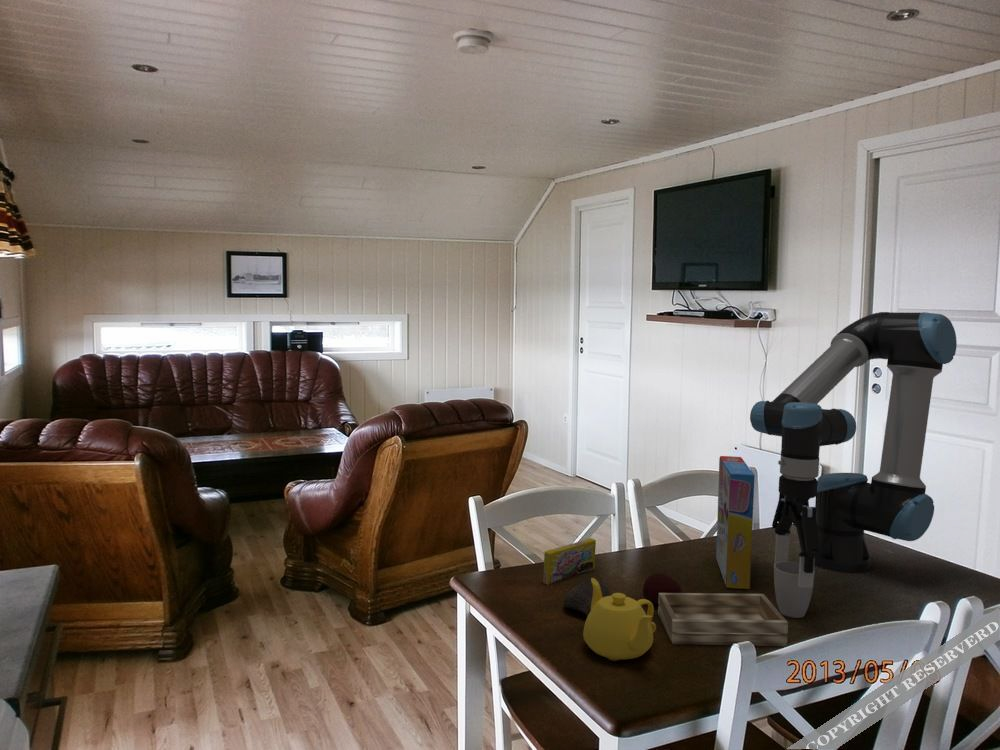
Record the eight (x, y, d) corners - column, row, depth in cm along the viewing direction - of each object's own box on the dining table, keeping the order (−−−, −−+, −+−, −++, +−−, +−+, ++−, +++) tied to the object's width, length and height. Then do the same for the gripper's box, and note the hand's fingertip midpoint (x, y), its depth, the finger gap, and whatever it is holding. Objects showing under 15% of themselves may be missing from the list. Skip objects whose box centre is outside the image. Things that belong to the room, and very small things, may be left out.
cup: (805, 606, 163) (808, 561, 162) (817, 622, 155) (820, 575, 154) (767, 604, 164) (769, 560, 163) (777, 620, 156) (779, 574, 155)
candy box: (548, 588, 173) (549, 553, 172) (542, 585, 174) (542, 551, 174) (595, 571, 183) (596, 539, 182) (589, 569, 185) (589, 537, 184)
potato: (680, 613, 159) (681, 582, 158) (640, 608, 162) (641, 577, 161) (683, 600, 166) (684, 570, 165) (644, 595, 169) (645, 565, 168)
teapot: (687, 668, 135) (689, 607, 134) (617, 685, 129) (619, 621, 128) (625, 624, 154) (626, 570, 152) (561, 637, 147) (562, 581, 146)
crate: (762, 616, 158) (763, 593, 157) (786, 647, 144) (788, 622, 143) (658, 615, 158) (658, 592, 157) (672, 646, 144) (673, 621, 143)
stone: (563, 633, 156) (591, 612, 150) (551, 594, 161) (578, 573, 155) (598, 631, 162) (626, 611, 156) (585, 594, 167) (612, 573, 161)
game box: (750, 590, 172) (755, 474, 169) (725, 589, 173) (730, 473, 170) (737, 559, 192) (741, 455, 189) (715, 558, 193) (719, 455, 190)
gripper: (760, 463, 169) (755, 554, 171) (803, 490, 144) (797, 597, 146) (793, 464, 169) (788, 555, 171) (842, 491, 144) (836, 598, 146)
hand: (792, 575), depth 158 cm, fingers open, 13 cm apart
